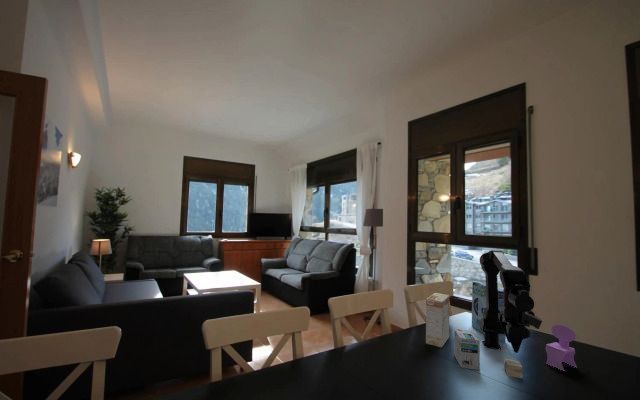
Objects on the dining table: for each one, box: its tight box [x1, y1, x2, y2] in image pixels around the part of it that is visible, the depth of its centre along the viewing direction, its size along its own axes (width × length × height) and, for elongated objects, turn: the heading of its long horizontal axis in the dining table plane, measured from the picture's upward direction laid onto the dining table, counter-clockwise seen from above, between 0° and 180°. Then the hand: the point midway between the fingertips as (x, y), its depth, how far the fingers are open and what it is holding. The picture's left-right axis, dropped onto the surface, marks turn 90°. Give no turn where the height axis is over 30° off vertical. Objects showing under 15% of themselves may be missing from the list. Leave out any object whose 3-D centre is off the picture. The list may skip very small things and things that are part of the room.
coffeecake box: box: [425, 292, 450, 348], centre depth 134 cm, size 15×7×20 cm, turn 144°
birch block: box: [504, 358, 523, 379], centre depth 106 cm, size 4×4×4 cm
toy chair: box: [545, 324, 578, 372], centre depth 113 cm, size 8×9×15 cm
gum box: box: [471, 281, 507, 343], centre depth 144 cm, size 20×5×23 cm, turn 4°
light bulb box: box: [453, 328, 481, 371], centre depth 113 cm, size 11×7×11 cm, turn 168°
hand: (512, 347), depth 106 cm, fingers open, 9 cm apart
